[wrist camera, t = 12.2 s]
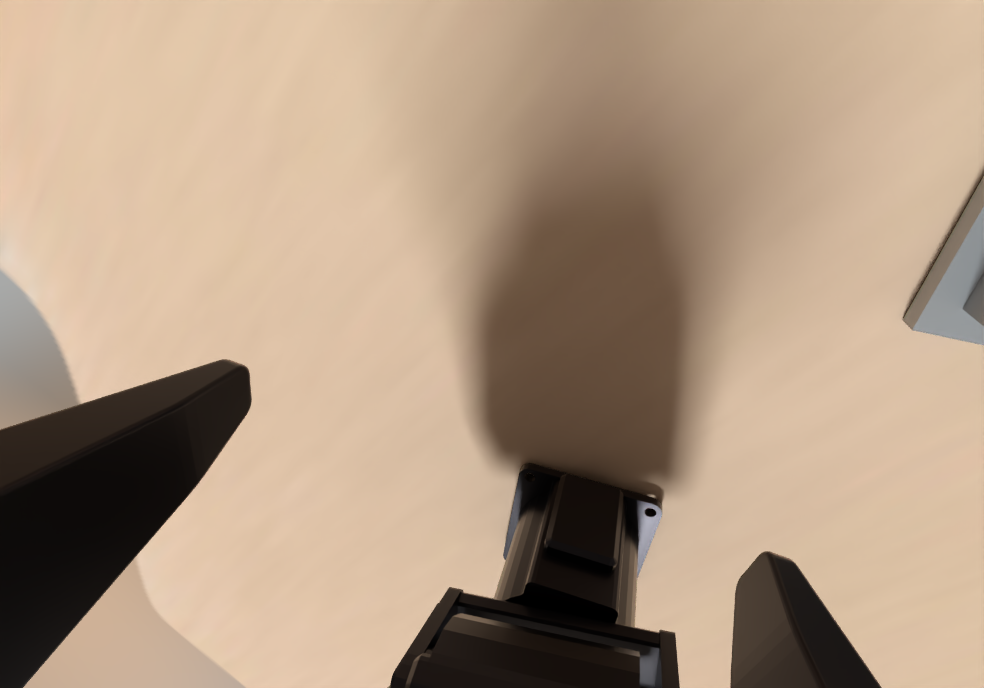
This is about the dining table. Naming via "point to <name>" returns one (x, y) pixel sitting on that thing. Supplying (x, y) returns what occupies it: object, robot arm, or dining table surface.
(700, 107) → the dining table surface
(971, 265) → the dish rack
